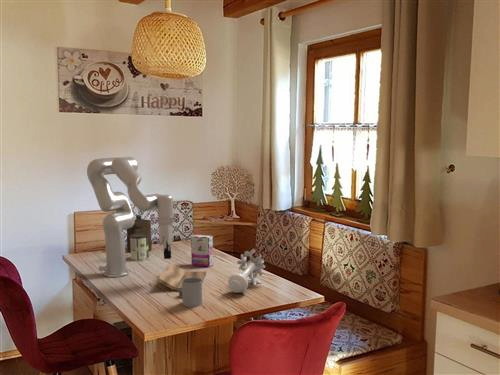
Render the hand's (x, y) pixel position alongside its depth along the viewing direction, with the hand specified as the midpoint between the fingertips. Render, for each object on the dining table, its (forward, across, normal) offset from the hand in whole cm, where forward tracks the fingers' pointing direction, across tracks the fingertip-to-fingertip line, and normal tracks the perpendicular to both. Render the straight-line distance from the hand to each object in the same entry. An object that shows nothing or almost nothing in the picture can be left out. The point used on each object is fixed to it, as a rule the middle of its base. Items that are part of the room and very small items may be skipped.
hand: (167, 258), depth 250 cm
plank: (+9, 0, +1) cm, 9 cm away
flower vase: (+13, +8, +38) cm, 41 cm away
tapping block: (+13, +20, +13) cm, 27 cm away
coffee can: (+11, -46, -26) cm, 54 cm away
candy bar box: (+12, -32, +12) cm, 37 cm away
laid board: (+12, -1, +11) cm, 17 cm away
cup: (+13, +30, +16) cm, 37 cm away
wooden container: (+10, -69, -32) cm, 76 cm away
